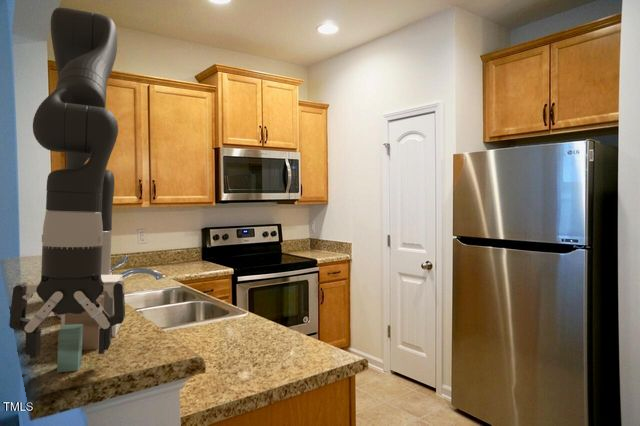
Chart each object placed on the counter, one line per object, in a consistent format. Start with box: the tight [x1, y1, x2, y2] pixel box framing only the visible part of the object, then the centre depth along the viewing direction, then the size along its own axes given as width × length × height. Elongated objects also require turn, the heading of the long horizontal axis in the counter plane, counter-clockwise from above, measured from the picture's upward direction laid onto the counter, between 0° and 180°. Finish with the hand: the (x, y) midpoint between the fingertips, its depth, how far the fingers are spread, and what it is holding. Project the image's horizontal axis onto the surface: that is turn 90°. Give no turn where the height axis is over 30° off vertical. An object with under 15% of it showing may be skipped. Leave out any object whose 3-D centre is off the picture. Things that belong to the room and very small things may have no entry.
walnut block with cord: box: [56, 295, 104, 373], centre depth 68 cm, size 15×5×8 cm, turn 19°
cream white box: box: [60, 274, 123, 338], centre depth 81 cm, size 9×9×10 cm
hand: (69, 354), depth 62 cm, fingers open, 8 cm apart
